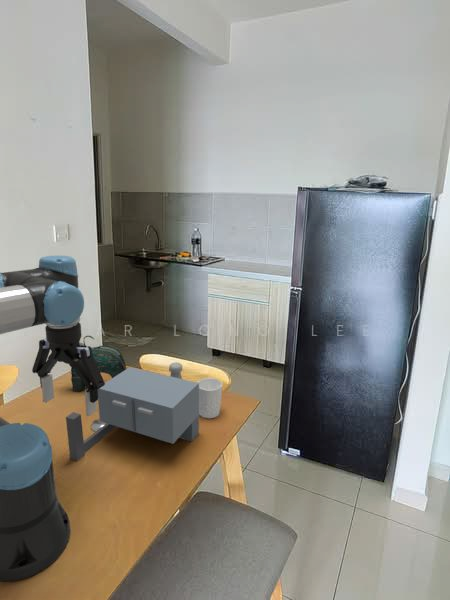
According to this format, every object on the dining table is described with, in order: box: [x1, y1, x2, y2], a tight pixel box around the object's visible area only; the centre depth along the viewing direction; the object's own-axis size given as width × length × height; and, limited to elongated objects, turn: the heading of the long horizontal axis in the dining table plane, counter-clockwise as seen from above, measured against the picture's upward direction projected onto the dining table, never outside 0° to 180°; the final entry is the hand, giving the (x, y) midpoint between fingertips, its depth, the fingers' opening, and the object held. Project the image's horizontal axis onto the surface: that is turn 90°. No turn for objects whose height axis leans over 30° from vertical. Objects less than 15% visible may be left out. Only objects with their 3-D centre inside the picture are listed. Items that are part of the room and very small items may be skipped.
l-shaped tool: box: [65, 411, 117, 461], centre depth 103 cm, size 18×2×12 cm, turn 156°
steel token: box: [90, 418, 106, 433], centre depth 110 cm, size 6×6×1 cm
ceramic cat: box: [70, 335, 127, 393], centre depth 128 cm, size 20×6×20 cm, turn 91°
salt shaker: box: [168, 361, 183, 379], centre depth 123 cm, size 6×6×13 cm
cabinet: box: [97, 366, 200, 444], centre depth 103 cm, size 15×23×16 cm, turn 67°
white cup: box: [196, 377, 223, 419], centre depth 117 cm, size 8×8×10 cm
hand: (69, 406), depth 92 cm, fingers open, 13 cm apart
